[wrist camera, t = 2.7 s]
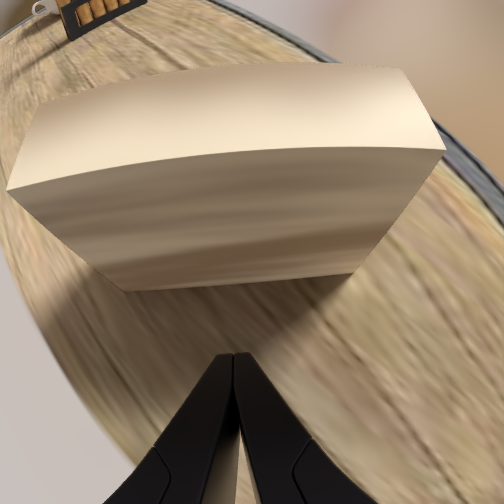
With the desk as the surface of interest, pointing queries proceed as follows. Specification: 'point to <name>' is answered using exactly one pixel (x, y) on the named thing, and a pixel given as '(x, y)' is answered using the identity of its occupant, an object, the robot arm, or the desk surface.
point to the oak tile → (227, 171)
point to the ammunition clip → (103, 10)
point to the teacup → (50, 5)
